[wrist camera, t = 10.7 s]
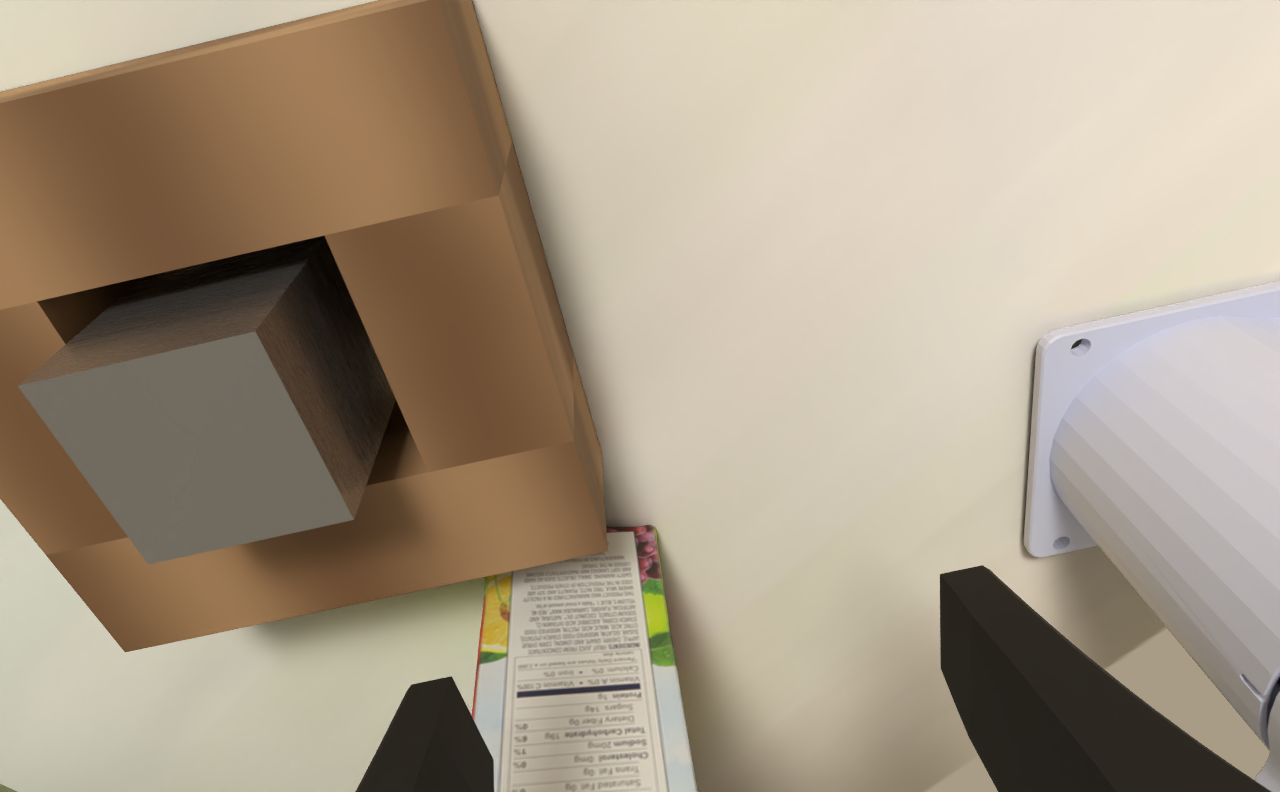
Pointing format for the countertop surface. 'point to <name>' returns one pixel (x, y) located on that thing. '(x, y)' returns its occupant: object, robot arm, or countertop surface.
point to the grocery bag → (5, 789)
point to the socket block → (372, 270)
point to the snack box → (583, 675)
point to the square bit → (222, 402)
